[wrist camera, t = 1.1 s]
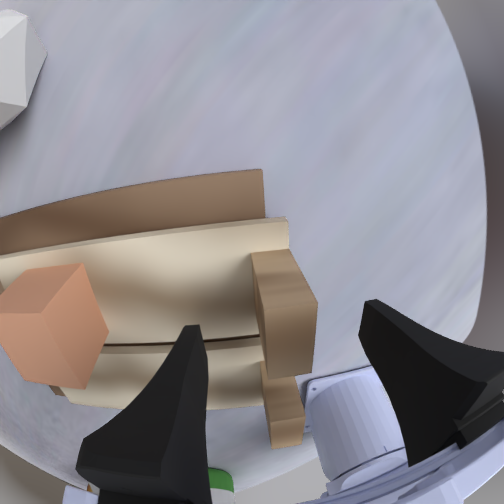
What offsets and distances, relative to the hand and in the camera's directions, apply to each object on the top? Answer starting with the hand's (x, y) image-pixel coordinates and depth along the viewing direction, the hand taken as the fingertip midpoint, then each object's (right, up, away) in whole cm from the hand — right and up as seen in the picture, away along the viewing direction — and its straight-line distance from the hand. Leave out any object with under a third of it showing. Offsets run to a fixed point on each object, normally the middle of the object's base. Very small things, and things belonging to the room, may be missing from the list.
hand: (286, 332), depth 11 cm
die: (-17, +14, -1) cm, 22 cm away
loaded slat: (-9, +1, +5) cm, 11 cm away
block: (-13, 0, +3) cm, 14 cm away
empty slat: (-9, -6, +8) cm, 13 cm away
